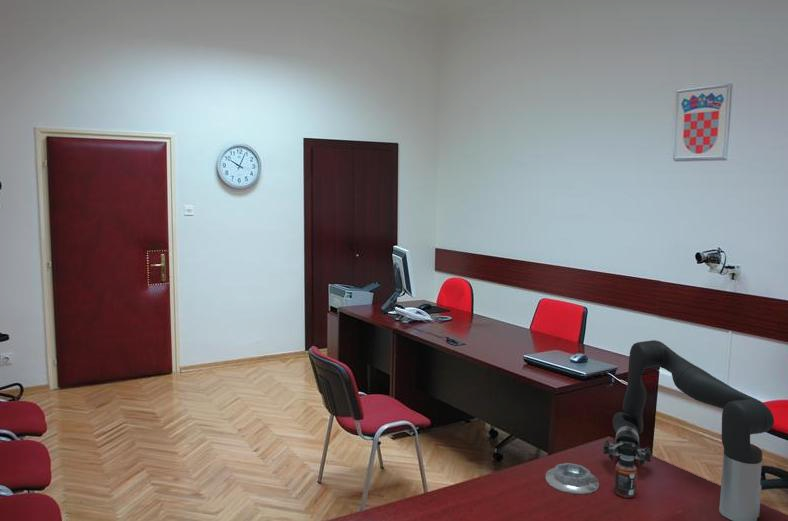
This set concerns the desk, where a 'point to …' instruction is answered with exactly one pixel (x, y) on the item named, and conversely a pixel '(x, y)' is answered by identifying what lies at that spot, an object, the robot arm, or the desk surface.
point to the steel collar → (572, 479)
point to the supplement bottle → (625, 477)
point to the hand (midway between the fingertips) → (626, 459)
